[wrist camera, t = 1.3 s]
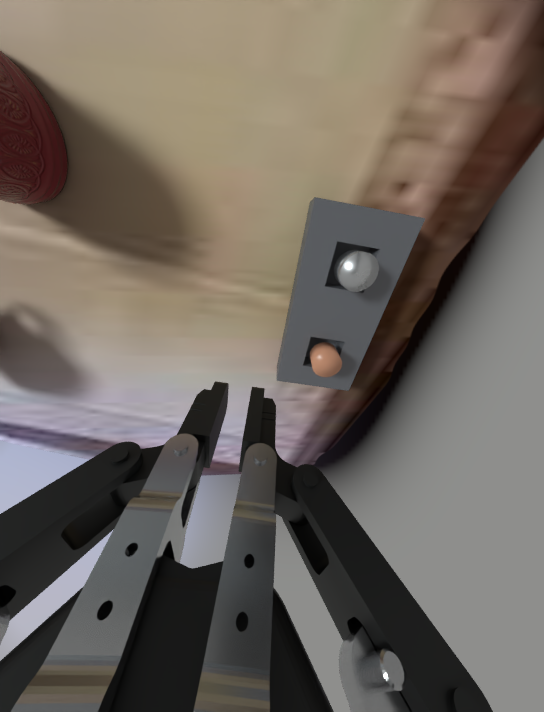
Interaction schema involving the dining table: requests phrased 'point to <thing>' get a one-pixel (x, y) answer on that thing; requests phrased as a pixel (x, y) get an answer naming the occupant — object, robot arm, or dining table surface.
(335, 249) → the button panel
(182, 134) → the dining table surface
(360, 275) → the steel button
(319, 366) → the terracotta button
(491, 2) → the dining table surface
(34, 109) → the canister
